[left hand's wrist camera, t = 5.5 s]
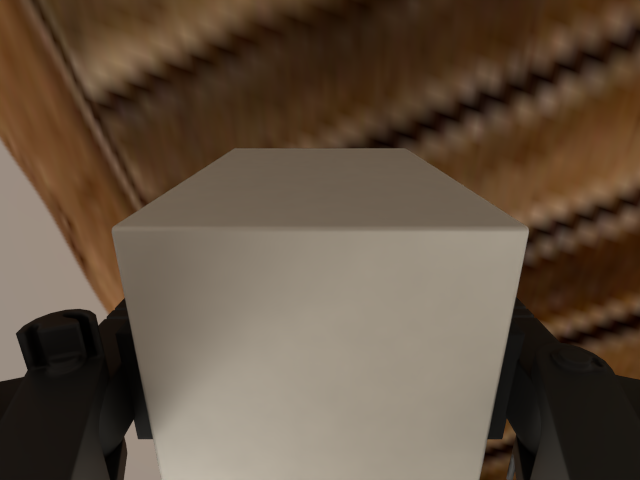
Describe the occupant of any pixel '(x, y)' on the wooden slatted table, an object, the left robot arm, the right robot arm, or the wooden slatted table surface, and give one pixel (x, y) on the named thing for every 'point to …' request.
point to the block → (320, 317)
